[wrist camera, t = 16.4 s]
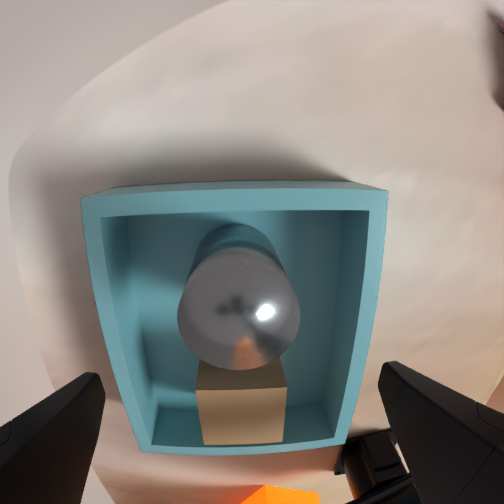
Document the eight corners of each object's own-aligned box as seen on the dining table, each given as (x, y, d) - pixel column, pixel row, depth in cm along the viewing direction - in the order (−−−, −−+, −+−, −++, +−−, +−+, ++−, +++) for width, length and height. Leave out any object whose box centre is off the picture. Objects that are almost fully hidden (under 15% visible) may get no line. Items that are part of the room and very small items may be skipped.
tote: (328, 401, 25) (344, 443, 20) (152, 408, 24) (141, 451, 19) (352, 181, 19) (388, 190, 15) (114, 187, 18) (80, 198, 14)
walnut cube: (273, 393, 23) (282, 441, 18) (207, 395, 22) (204, 444, 18) (275, 339, 21) (287, 387, 16) (201, 341, 21) (195, 390, 16)
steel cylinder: (276, 300, 20) (296, 366, 14) (197, 302, 20) (184, 370, 13) (277, 222, 19) (303, 260, 12) (192, 224, 18) (171, 264, 12)
